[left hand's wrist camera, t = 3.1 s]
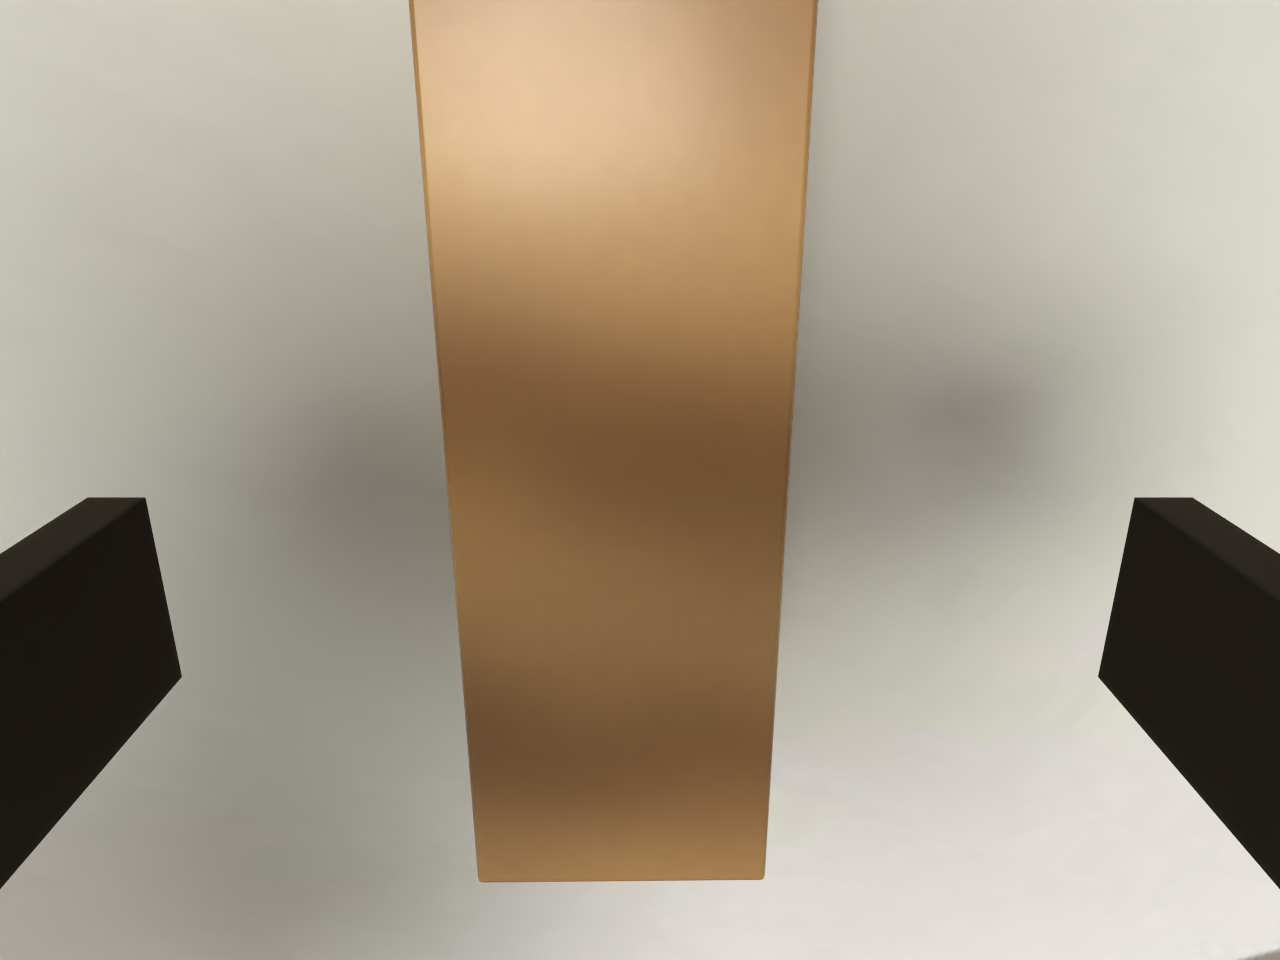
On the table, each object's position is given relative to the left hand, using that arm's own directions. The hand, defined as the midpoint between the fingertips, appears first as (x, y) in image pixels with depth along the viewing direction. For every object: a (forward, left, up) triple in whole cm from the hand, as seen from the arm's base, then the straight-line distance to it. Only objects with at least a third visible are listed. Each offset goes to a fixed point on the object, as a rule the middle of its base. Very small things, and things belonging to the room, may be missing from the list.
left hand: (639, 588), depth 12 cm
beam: (+6, +20, -10) cm, 23 cm away
